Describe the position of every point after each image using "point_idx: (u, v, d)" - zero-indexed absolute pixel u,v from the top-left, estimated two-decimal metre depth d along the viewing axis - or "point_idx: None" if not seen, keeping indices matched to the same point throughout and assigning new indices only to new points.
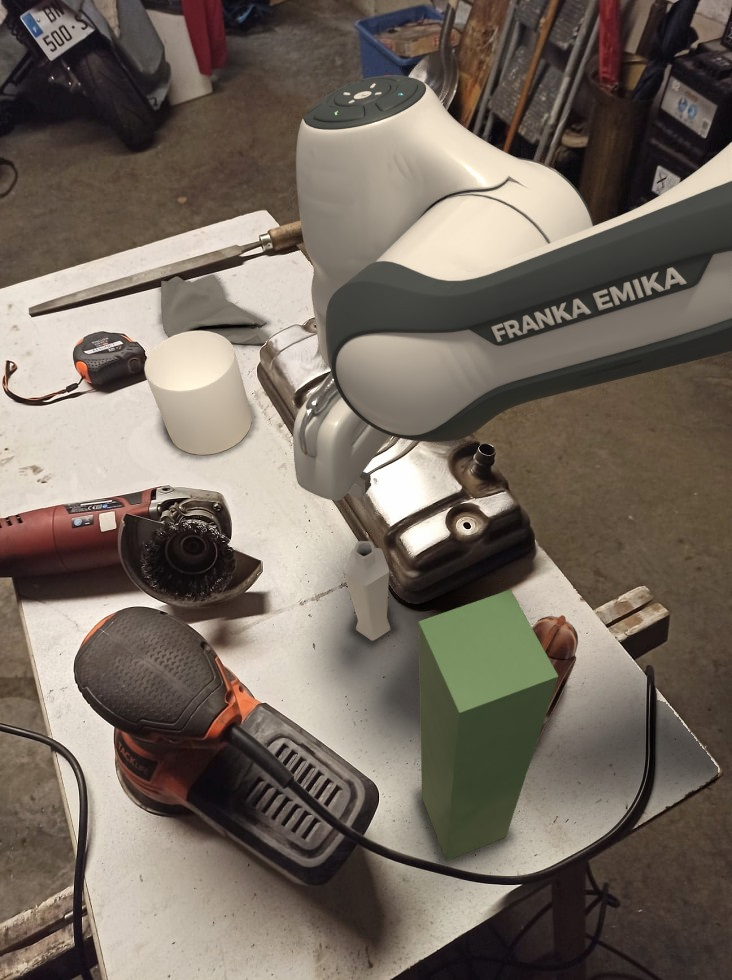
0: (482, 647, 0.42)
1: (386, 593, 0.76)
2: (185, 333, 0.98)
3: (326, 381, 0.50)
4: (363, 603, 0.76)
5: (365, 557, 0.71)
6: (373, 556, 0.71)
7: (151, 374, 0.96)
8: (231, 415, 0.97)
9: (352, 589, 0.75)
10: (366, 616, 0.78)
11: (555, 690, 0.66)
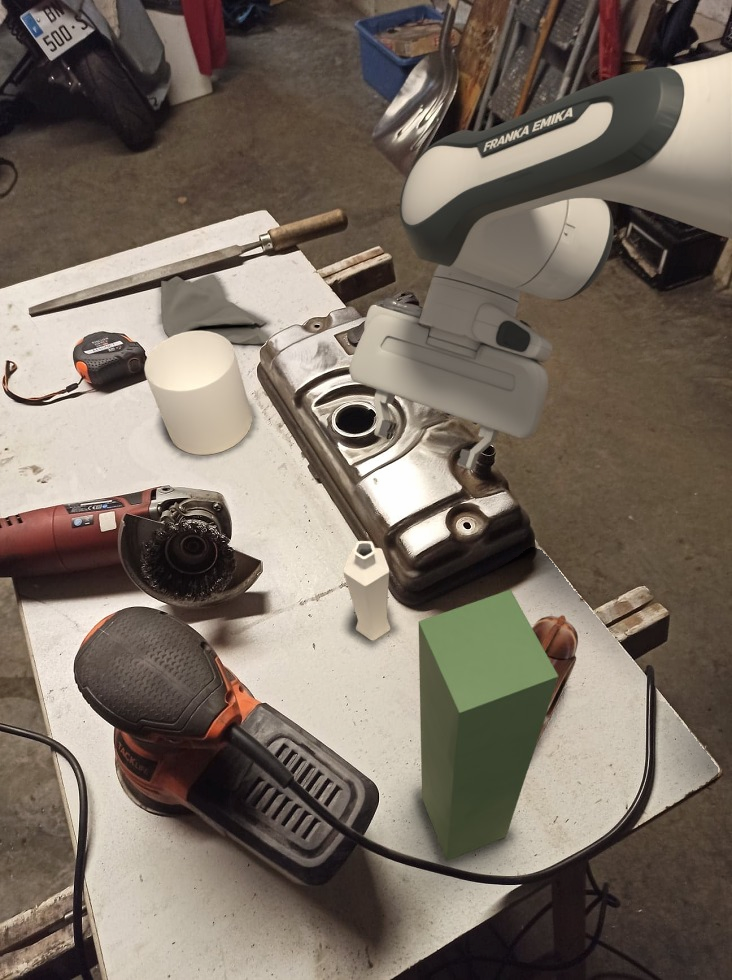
0: (482, 647, 0.42)
1: (386, 593, 0.76)
2: (185, 333, 0.98)
3: None
4: (363, 603, 0.76)
5: (365, 557, 0.71)
6: (373, 556, 0.71)
7: (151, 374, 0.96)
8: (231, 415, 0.97)
9: (352, 589, 0.75)
10: (366, 616, 0.78)
11: (555, 690, 0.66)
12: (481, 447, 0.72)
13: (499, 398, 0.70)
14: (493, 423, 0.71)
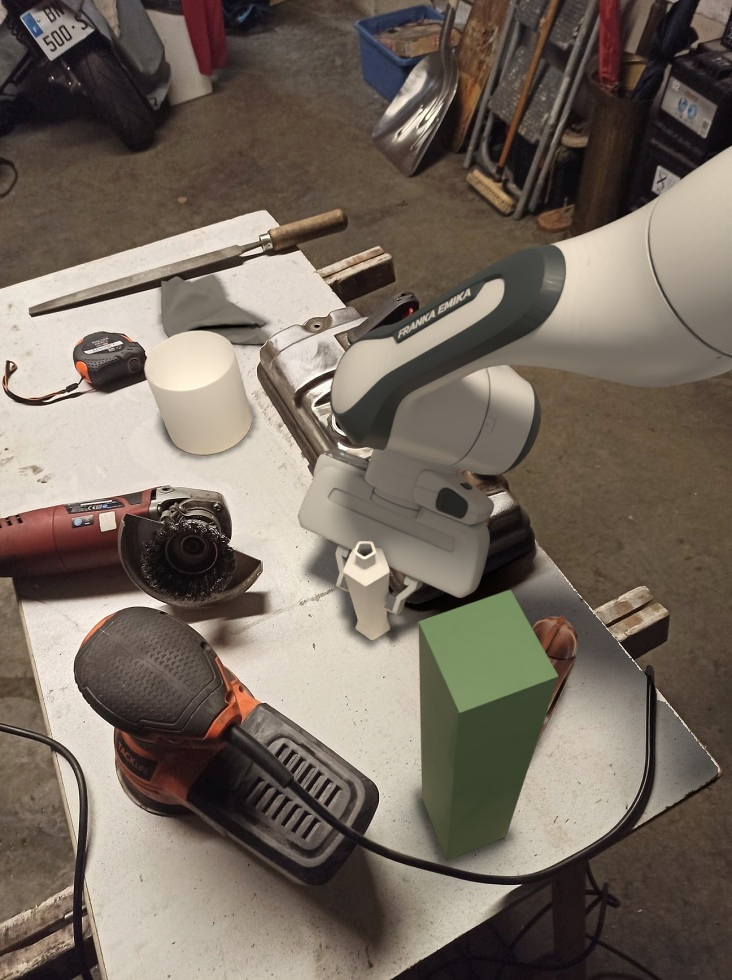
0: (482, 647, 0.42)
1: (386, 593, 0.76)
2: (185, 333, 0.98)
3: None
4: (363, 603, 0.76)
5: (366, 557, 0.71)
6: (373, 556, 0.71)
7: (151, 374, 0.96)
8: (231, 415, 0.97)
9: (352, 589, 0.75)
10: (366, 616, 0.78)
11: (555, 690, 0.66)
12: (406, 594, 0.75)
13: (440, 558, 0.72)
14: (433, 582, 0.73)
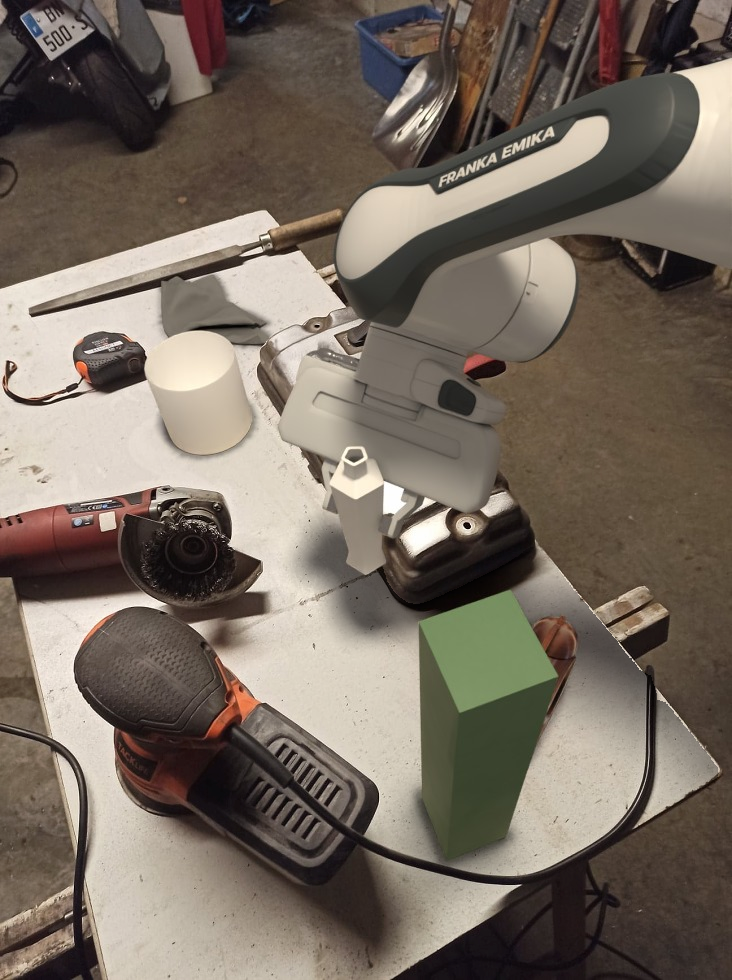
0: (482, 647, 0.42)
1: (381, 513, 0.65)
2: (185, 333, 0.98)
3: None
4: (354, 525, 0.65)
5: (355, 464, 0.60)
6: (365, 464, 0.60)
7: (151, 374, 0.96)
8: (231, 415, 0.97)
9: (341, 507, 0.64)
10: (357, 543, 0.67)
11: (555, 690, 0.66)
12: (404, 513, 0.64)
13: (443, 467, 0.61)
14: (435, 495, 0.62)
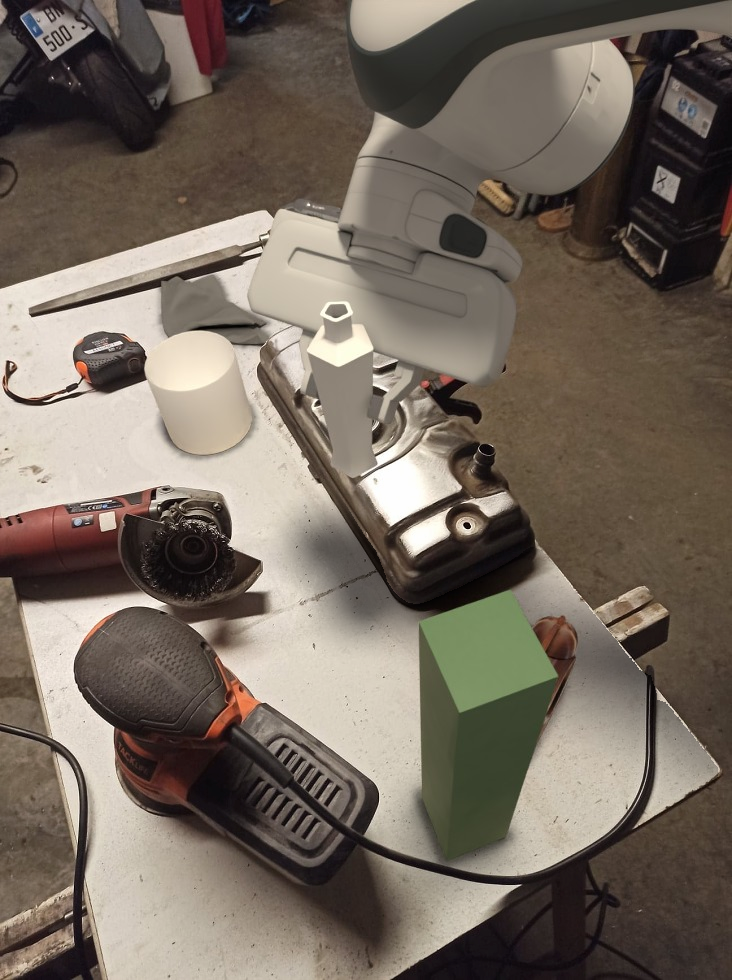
0: (482, 647, 0.42)
1: (370, 394, 0.54)
2: (185, 333, 0.98)
3: None
4: (338, 408, 0.54)
5: (337, 319, 0.48)
6: (349, 322, 0.49)
7: (151, 374, 0.96)
8: (231, 415, 0.97)
9: (321, 383, 0.53)
10: (343, 434, 0.56)
11: (555, 690, 0.66)
12: (398, 391, 0.52)
13: (445, 328, 0.50)
14: (436, 364, 0.50)
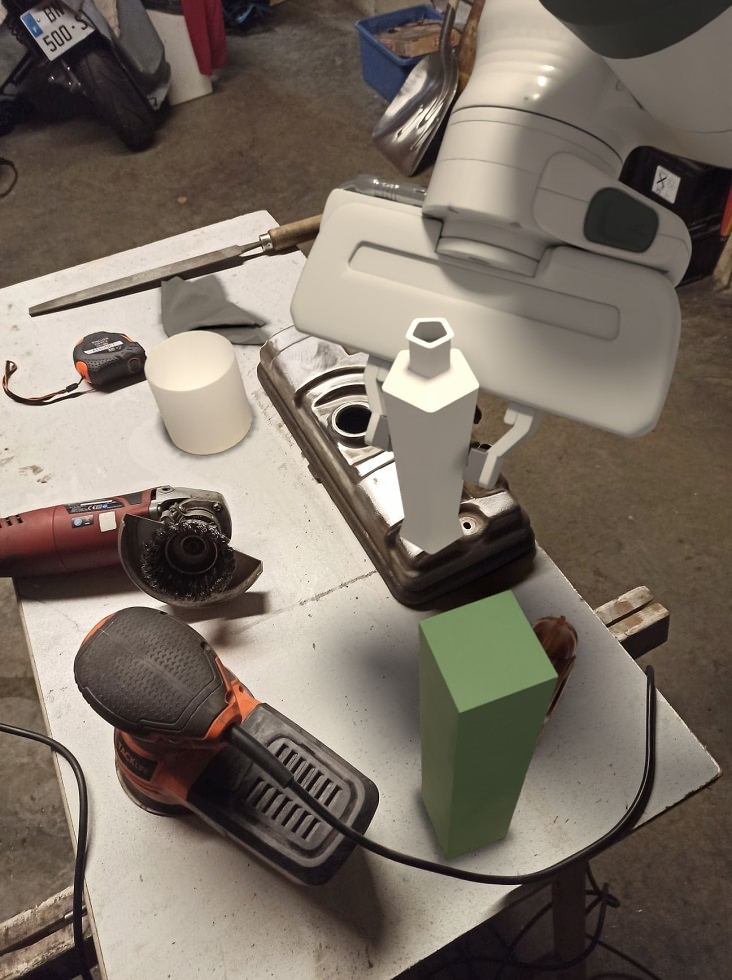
0: (482, 647, 0.42)
1: (466, 446, 0.38)
2: (185, 333, 0.98)
3: None
4: (421, 467, 0.38)
5: (433, 344, 0.33)
6: (448, 347, 0.34)
7: (151, 374, 0.96)
8: (231, 415, 0.97)
9: (400, 433, 0.37)
10: (423, 500, 0.40)
11: (555, 690, 0.66)
12: (509, 444, 0.37)
13: (586, 356, 0.34)
14: (571, 408, 0.35)
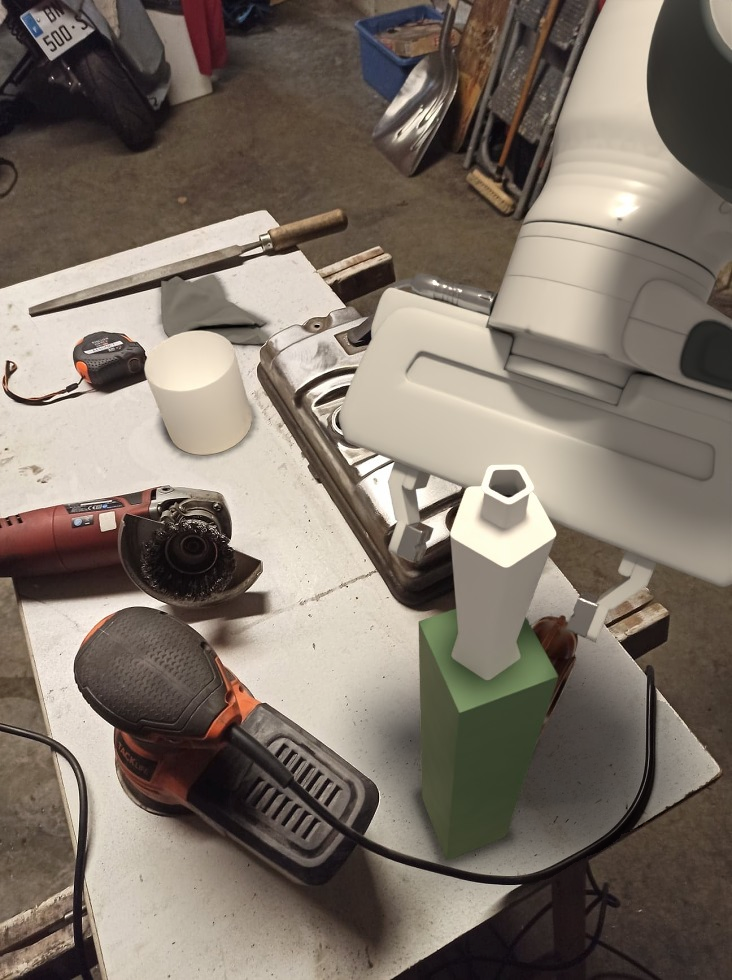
0: None
1: (535, 585, 0.35)
2: (185, 333, 0.98)
3: None
4: (486, 608, 0.35)
5: (512, 500, 0.30)
6: (526, 499, 0.31)
7: (151, 374, 0.96)
8: (231, 415, 0.97)
9: (466, 576, 0.34)
10: (484, 634, 0.38)
11: (555, 690, 0.66)
12: (624, 598, 0.33)
13: (675, 495, 0.31)
14: (658, 551, 0.32)
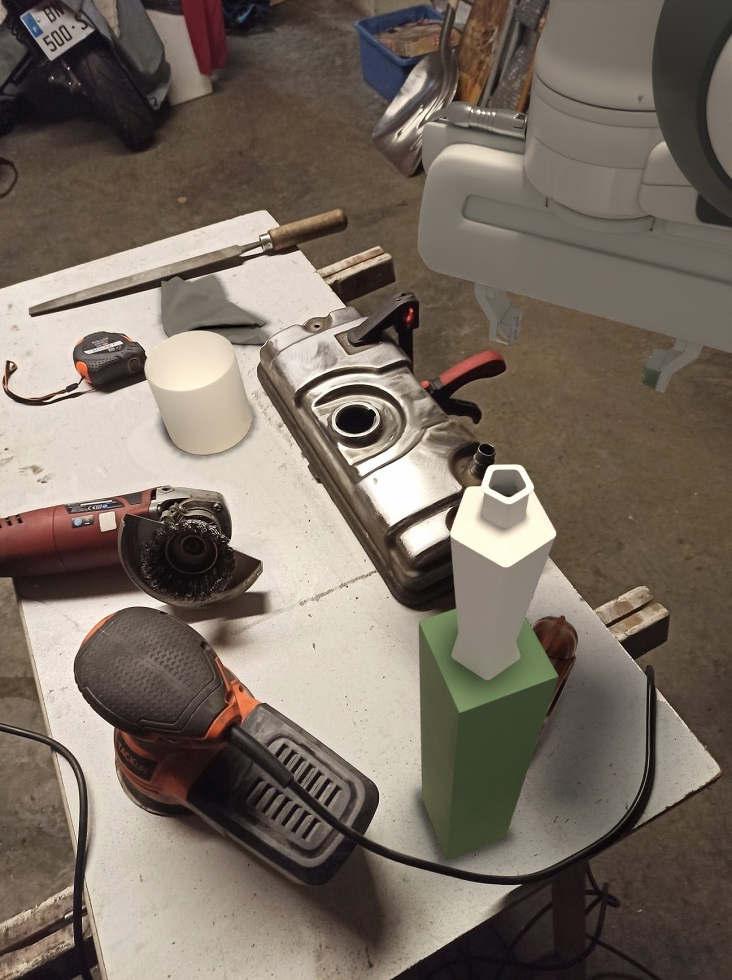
0: None
1: (535, 585, 0.35)
2: (185, 333, 0.98)
3: (494, 109, 0.37)
4: (486, 608, 0.35)
5: (512, 500, 0.30)
6: (526, 499, 0.31)
7: (151, 374, 0.96)
8: (231, 415, 0.97)
9: (466, 576, 0.34)
10: (484, 634, 0.38)
11: (555, 690, 0.66)
12: (681, 365, 0.40)
13: (712, 299, 0.36)
14: (701, 339, 0.38)
